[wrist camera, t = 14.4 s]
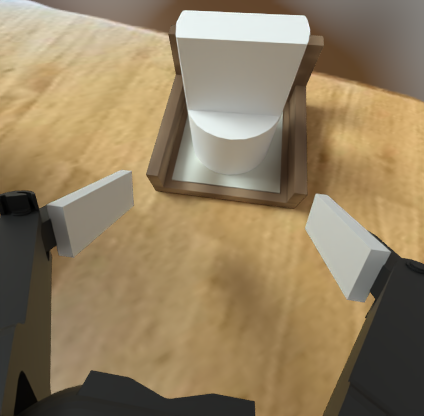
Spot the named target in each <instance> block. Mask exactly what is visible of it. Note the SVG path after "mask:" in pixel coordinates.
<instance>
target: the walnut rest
mask: <svg viewBox="0 0 424 416" xmlns="http://www.w3.org/2000/svg"><path fill="white" fill-rule="evenodd" d="M169 39H170V45H171V50H172V56H173V61H174V66H175V72H176V76H175V79H174V83H173V86H172V89H171V93H170V96H169V99H168V103H167V106H166V109H165V113H164V116H163V119H162V123H161V126H160V129H159V133H158V136H157V139H156V143H155V146H154V149H153V153H152V156H151V159H150V163H149V166H148V170H147V173H146V175H147V177H148V178H149V180H150V182H151V183H152V185H153V187H154V188H155V190H156V191H164V192H172V193H179V194H187V195H195V196H202V197H210V198H218V199H225V200H233V201H241V202H248V203H256V204H264V205H271V206H279V207H287V208H295V207H296V206H297V205H298V204H299V203H300V202H301V201H302V200H303V199H304V198H305V196H306V195H307V133H306V85H307V82H308V80H309V78H310V76H311V73H312V71H313V69H314V67H315V64H316V62H317V59H318V57H319V55H320V53H321V51H322V48H323V46H324V43H323V36H311V35H309V41H308V44H307V47H306V49H305V52H304V55H303V57H302V60H301V63H300V66H299V68H298V71H297V74H296V76H295V79H294V82H293V84H292V87H291V90H290V92H289V95H288V98H287V100H286V103H285V106H284V109H283V111H282V114H281V117H280V119H279V122H278V125H277V127H276V130H275V133H274V135H273V138H272V141H271V144H270V146H269V149H268V152H267V154H266V156H265V158H264V159H263V161H262V162H261V163H260V164H259V165H258V166H257V167H256V168H254V169H252V170H250V171H249V172H246V173H242V174H238V175H226V174H221V173H217V172H214V171H212V170H210V169H208V168H207V167H206V166H205V165H203V164H202V163H201V162H200V160H199V159H198V158H197V156H196V154H195V151H194V147H193V141H192V135H191V128H190V122H189V116H188V109H187V103H186V97H185V90H184V84H183V78H182V72H181V65H180V59H179V53H178V46H177V40H176V25H175V26H174V25H172V26H171V28H170V31H169Z"/></svg>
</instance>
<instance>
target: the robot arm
mask: <svg viewBox="0 0 424 416" xmlns="http://www.w3.org/2000/svg"><path fill="white" fill-rule="evenodd" d="M133 206H134V200H133V185H132V171H127V170H120V171H118V172H116V173H114V174H111V175H109V176H107V177H105V178H103V179H101V180H99V181H96V182H94V183H92V184H90V185H88V186H86V187H83V188H81V189H79V190H77V191H75V192H73V193H71V194H68V195H66V196H64V197H62V198H60V199H58V200H55V201H53V202H51V203H49V204H47V205H46V206H44V207H42V208H40V209H39V207H38V203H37V200H36V196H35V193H34V192H32V191H12V192H7V193H3V194H0V214H1V216H0V416H255V401H250V400H245V399H240V398H234V397H229V396H224V395H219V394H205V395H197V396H189V397H182V398H174V399H167V398H164V397H162V396H160V395H159V394H157V393H155V392H154V391H152V390H150V389H148V388H147V387H145V386H143V385H141V384H140V383H138V382H136V381H135V380H133V379H131V378H129V377H124V376H119V375H113V374H108V373H103V372H98V371H92V370H91V371H90V373H89V375H88V377H87V378H86V380H85V382H84V383H83V385H79V386H75V387H71V388H67V389H64V390H62V391H59V392H56V393H54V394H52V395H51V390H50V354H51V273H52V255H51V252H50V249H52V248H53V247H55V246H56V245H57V249H58V253H59V255H60V256H66V257H73V258H74V257H75V256H76V255H77V254H78V253H80V252H81V251H82V250H83V249H84V248H85V247H86V246H88V245H89V244H90V243H91V242H92V241H93V240H95V239H96V238H97V237H98V236H99V235H100V234H102V233H103V232H104V231H105V230H106V229H107V228H109V227H110V226H111V225H112V224H113V223H114V222H115V221H117V220H118V219H119V218H120V217H121V216H122V215H124V214H125V213H126V212H127V211H128V210H129V209H131V208H132V207H133ZM305 229H306V231H307V233H308V234H309V236H310V238H311V240H312V241H313V243H314V245H315V246H316V248H317V250H318V251H319V253H320V255H321V257H322V258H323V260H324V262H325V263H326V265H327V267H328V268H329V270H330V272H331V273H332V275H333V277H334V279H335V280H336V282H337V284H338V285H339V287H340V289H341V290H342V292H343V294H344V296H345V297H346V299H347V300H352V301H359V302H365V300H366V298H367V297H368V295H369V293H370V292H371V294H372V295H373V296H374V298H375V301H374V303H373V304H372V306H371V308H370V310H369V312H368V313H367V315H366V317H365V318H366V320H365V322H364V324H363V326H362V329H361V331H360V333H359V335H358V338H357V340H356V342H355V344H354V347H353V349H352V351H351V353H350V356H349V358H348V360H347V362H346V364H345V367H344V369H343V371H342V373H341V376H340V378H339V380H338V382H337V385H336V387H335V389H334V391H333V394H332V396H331V398H330V400H329V402H328V405H327V407H326V409H325V411H324V414H323V416H424V264H422V263H420V262H417V261H414V260H411V259H406V258H401V257H400V256H399V255H398V254H397V253H395V252H394V251H393V250H392V249H391V248H390V247H387V245H386V244H385V243H384V242H382V240H380V239H379V238H378V237H377V236H376V235H374V234H372V233H371V232H369V231H367V230H366V229H365V228H364V227H363V226H361V225H360V224H359V223H358V222H357V221H356V220H355V219H354V218H352V217H351V216H350V215H349V214H348V213H347V212H346V211H345V210H343V209H342V208H341V207H340V206H339V205H338V204H337V203H336V202H335V201H333V200H332V199H331V198H330V197H329V196H328V195H323V194H316V195H315V198H314V201H313V204H312V208H311V211H310V214H309V217H308V220H307V224H306V227H305Z"/></svg>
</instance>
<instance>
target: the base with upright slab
mask: <svg viewBox="0 0 424 416" xmlns="http://www.w3.org/2000/svg"><path fill="white" fill-rule="evenodd" d="M309 34H310V28H309V24H308V21H307V19H306V17H305V16H297V15H275V14H253V13H231V12H208V11H186V10H185V11H183V12H182V13H181V15H180V17H179V19H178V21H177V23H176V40H177V46H178V53H179V59H180V65H181V72H182V78H183V84H184V90H185V97H186V103H187V109H188V116H189V122H190V128H191V135H192V141H193V147H194V151H195V154H196V156H197V158H198V159H199V160H200V162H201V163H202V164H203V165H205V166H206V167H207V168H208V169H210V170H212V171H214V172H217V173H221V174H226V175H238V174H242V173H246V172H249V171H250V170H252V169H254V168H256V167H257V166H258V165H259V164H260V163H261V162H262V161H263V159H264V158H265V156H266V154H267V152H268V149H269V146H270V144H271V141H272V138H273V135H274V133H275V130H276V127H277V125H278V122H279V119H280V117H281V114H282V111H283V109H284V106H285V103H286V100H287V98H288V95H289V92H290V90H291V87H292V84H293V82H294V79H295V76H296V74H297V71H298V68H299V66H300V63H301V60H302V57H303V55H304V52H305V49H306V47H307V44H308V41H309Z"/></svg>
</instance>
